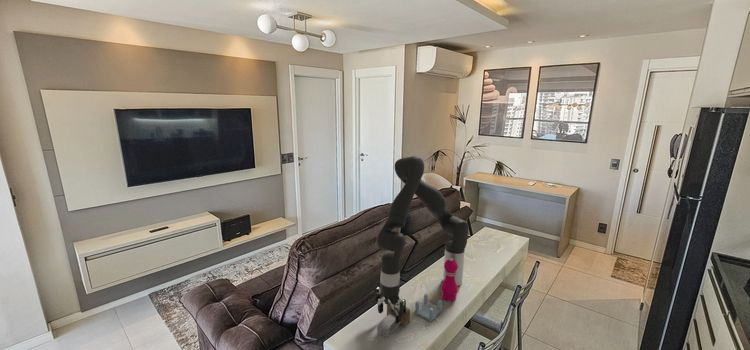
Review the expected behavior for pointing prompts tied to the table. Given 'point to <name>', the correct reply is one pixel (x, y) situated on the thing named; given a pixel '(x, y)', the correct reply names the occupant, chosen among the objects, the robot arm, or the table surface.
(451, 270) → the pepper mill
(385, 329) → the steel bar
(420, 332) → the table surface
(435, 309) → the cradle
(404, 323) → the wooden arch block
